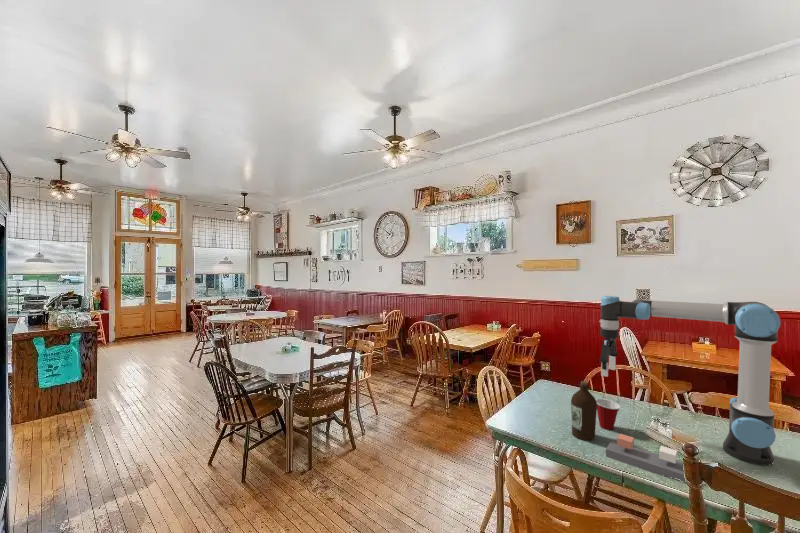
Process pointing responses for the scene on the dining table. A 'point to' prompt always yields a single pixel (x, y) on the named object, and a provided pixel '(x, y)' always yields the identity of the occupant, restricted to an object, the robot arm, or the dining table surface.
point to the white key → (668, 454)
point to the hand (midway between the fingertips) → (608, 372)
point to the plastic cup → (607, 413)
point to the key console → (645, 460)
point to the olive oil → (583, 413)
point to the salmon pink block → (625, 441)
